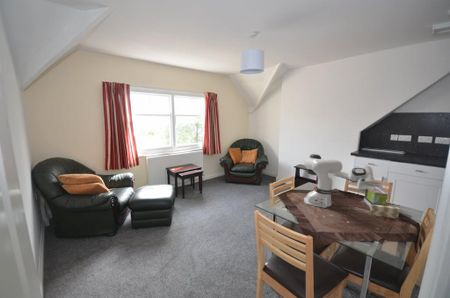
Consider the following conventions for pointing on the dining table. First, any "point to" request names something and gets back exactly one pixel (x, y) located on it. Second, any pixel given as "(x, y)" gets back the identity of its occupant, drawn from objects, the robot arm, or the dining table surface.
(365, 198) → the tea box
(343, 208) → the dining table surface
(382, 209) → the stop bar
